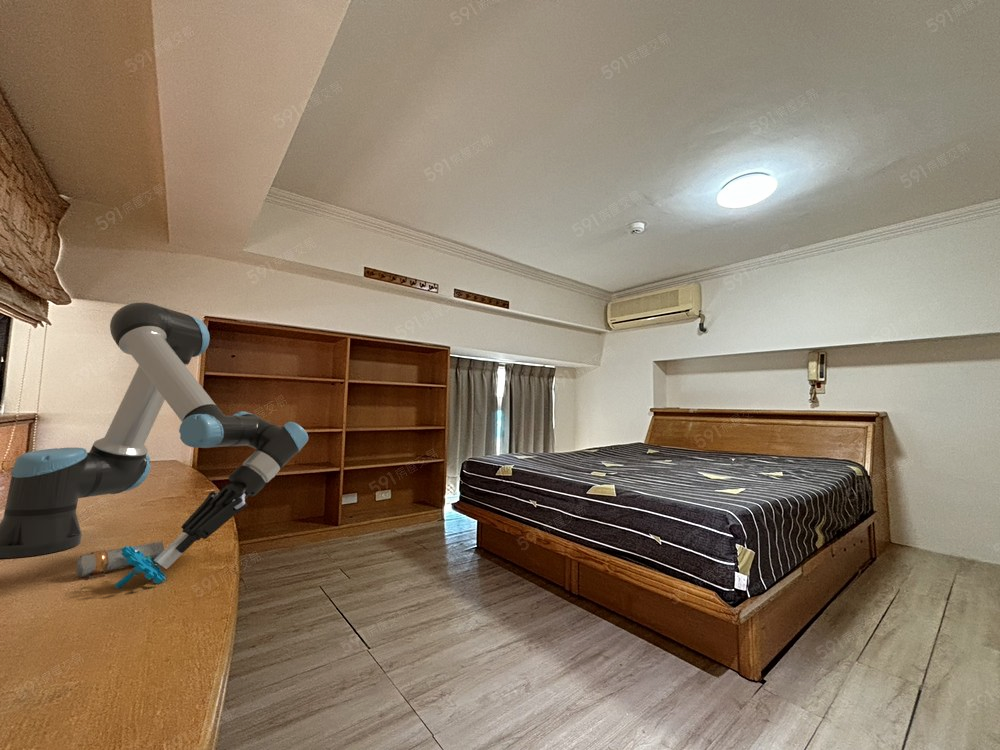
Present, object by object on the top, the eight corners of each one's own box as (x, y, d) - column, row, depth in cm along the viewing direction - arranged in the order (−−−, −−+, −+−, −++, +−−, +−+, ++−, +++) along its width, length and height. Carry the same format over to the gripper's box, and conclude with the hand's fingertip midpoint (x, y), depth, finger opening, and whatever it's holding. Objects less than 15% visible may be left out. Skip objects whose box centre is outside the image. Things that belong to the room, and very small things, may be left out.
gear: (165, 581, 77) (123, 546, 75) (131, 610, 73) (87, 574, 71) (173, 571, 86) (136, 539, 84) (144, 596, 82) (104, 564, 80)
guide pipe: (74, 575, 81) (78, 551, 82) (153, 558, 92) (156, 538, 93) (83, 581, 79) (87, 556, 79) (162, 563, 90) (166, 541, 91)
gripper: (279, 487, 96) (189, 581, 80) (248, 481, 103) (159, 568, 86) (259, 466, 93) (160, 561, 76) (229, 461, 99) (131, 548, 82)
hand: (160, 564), depth 81 cm, fingers closed
